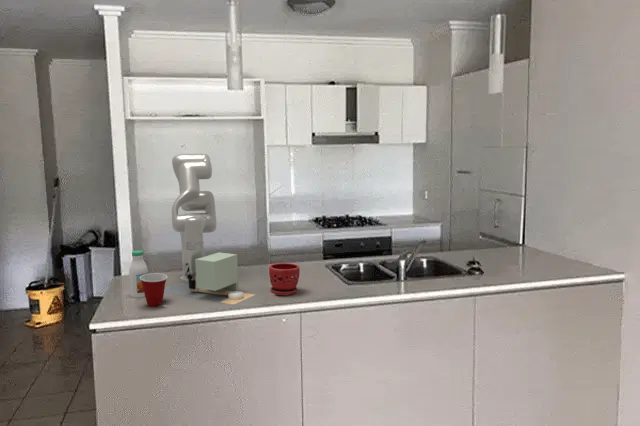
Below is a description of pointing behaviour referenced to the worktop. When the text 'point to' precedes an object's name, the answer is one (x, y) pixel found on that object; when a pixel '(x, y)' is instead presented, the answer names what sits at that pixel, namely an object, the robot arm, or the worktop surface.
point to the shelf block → (217, 272)
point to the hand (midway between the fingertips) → (196, 286)
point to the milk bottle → (137, 274)
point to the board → (193, 293)
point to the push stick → (221, 292)
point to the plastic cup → (153, 288)
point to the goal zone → (245, 296)
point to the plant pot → (284, 278)
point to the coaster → (235, 295)
